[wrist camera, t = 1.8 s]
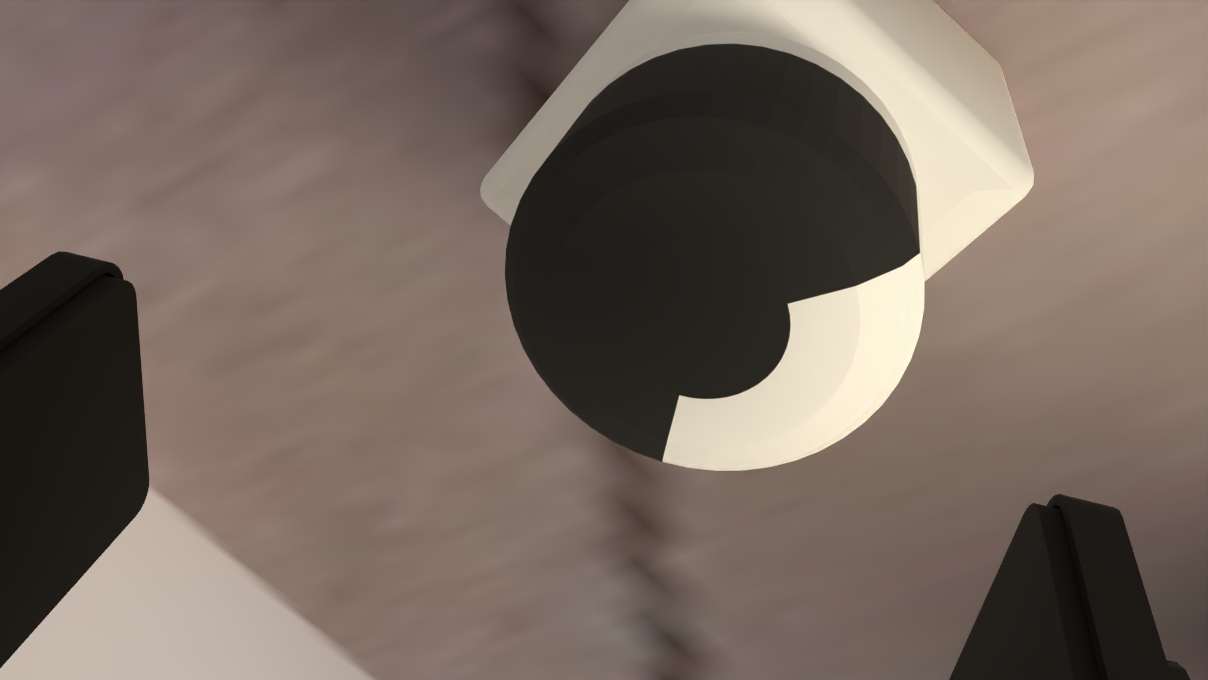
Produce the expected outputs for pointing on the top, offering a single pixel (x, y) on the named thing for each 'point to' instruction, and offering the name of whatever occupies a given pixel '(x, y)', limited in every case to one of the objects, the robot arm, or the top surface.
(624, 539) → the top surface
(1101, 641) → the robot arm
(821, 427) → the medicine bottle
